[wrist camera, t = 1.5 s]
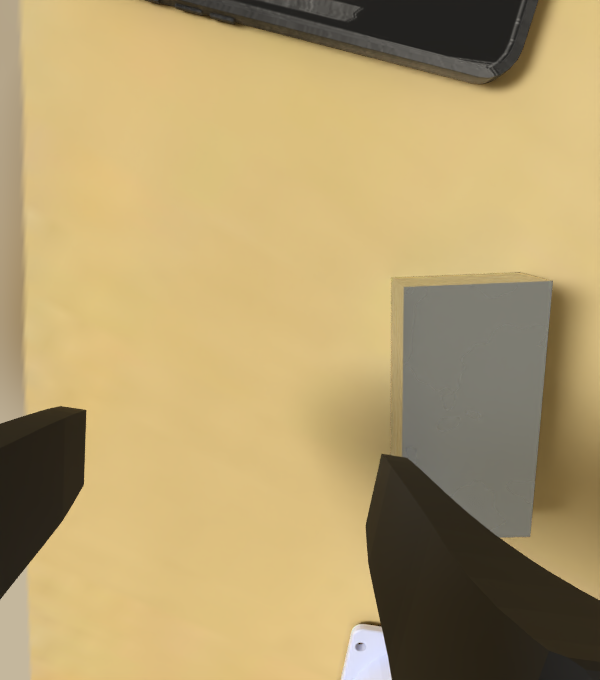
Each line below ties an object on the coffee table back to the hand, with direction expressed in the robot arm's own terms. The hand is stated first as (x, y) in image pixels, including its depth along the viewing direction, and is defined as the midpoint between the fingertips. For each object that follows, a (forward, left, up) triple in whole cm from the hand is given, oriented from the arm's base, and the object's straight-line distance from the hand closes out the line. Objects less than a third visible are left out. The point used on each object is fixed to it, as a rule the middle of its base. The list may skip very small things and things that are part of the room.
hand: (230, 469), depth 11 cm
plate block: (0, -8, -9) cm, 12 cm away
